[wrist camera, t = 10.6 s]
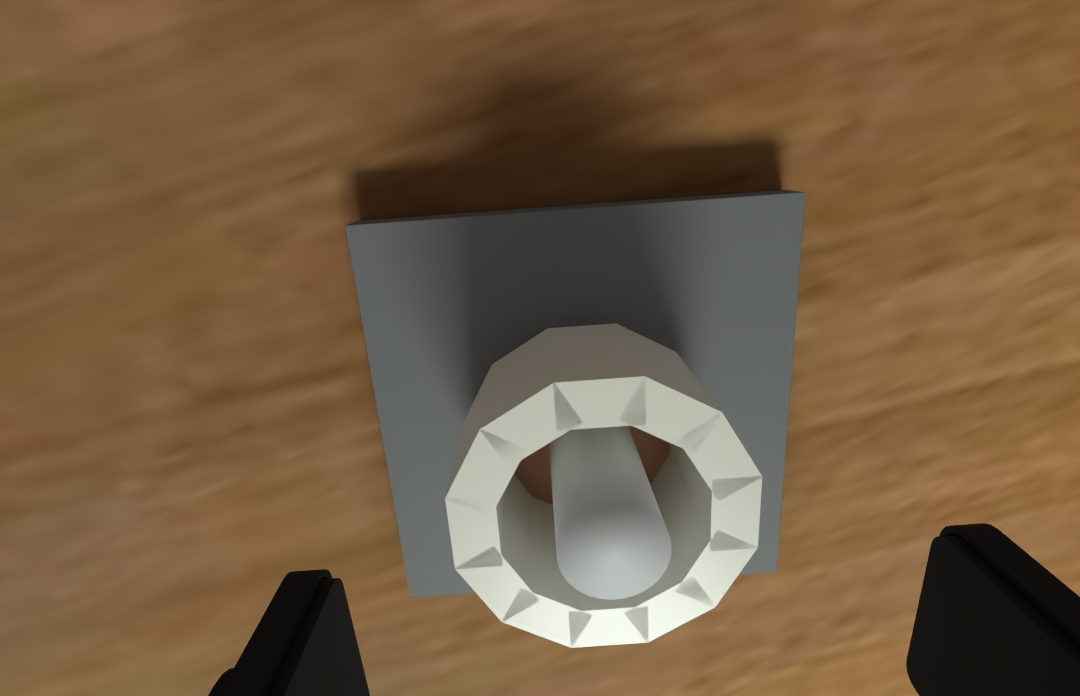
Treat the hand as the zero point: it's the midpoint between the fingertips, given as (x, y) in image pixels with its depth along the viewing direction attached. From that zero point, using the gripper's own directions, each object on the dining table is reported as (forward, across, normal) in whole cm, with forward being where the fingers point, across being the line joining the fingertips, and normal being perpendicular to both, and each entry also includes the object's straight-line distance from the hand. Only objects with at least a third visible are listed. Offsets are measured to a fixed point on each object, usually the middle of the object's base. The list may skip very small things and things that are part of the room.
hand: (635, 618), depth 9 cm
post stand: (+11, 0, +1) cm, 11 cm away
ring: (+8, 0, +1) cm, 8 cm away
